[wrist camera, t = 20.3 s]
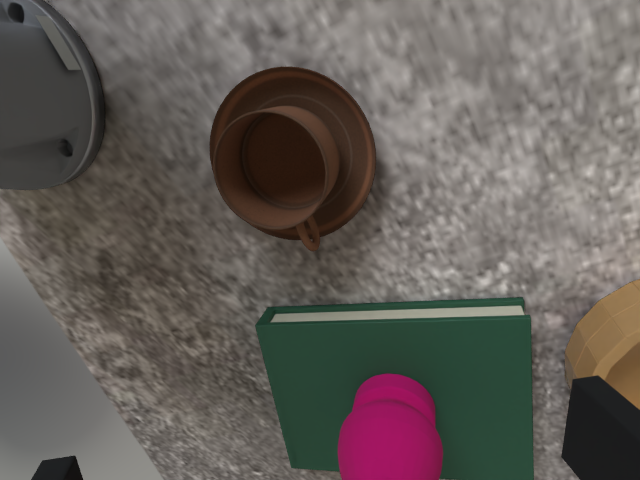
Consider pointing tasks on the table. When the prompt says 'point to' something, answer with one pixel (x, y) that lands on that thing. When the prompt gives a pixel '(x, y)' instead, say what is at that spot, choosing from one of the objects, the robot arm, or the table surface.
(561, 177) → the table surface
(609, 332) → the bowl
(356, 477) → the pepper mill
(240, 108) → the cup and saucer
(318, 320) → the book
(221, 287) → the table surface
